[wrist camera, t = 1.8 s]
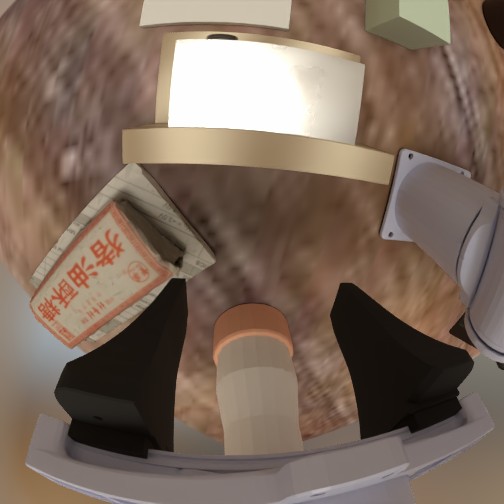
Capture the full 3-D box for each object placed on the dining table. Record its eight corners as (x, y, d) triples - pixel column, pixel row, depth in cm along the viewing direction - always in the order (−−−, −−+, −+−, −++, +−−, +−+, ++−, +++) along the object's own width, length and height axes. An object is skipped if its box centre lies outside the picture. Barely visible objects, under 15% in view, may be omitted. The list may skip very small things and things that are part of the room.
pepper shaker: (198, 326, 25) (189, 531, 9) (260, 289, 24) (299, 527, 7) (243, 362, 29) (258, 531, 12) (300, 332, 27) (347, 516, 10)
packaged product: (83, 367, 22) (11, 301, 18) (96, 335, 26) (33, 274, 22) (216, 287, 18) (112, 169, 14) (218, 251, 22) (138, 155, 18)
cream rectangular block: (331, 66, 14) (365, 54, 10) (323, 135, 17) (354, 145, 12) (191, 50, 13) (177, 28, 9) (185, 122, 16) (168, 126, 11)
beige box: (353, 58, 15) (407, 43, 9) (339, 162, 19) (387, 190, 13) (167, 37, 13) (136, 4, 7) (158, 148, 17) (123, 169, 11)
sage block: (411, 9, 12) (447, -2, 8) (410, 50, 14) (450, 44, 10) (365, -11, 11) (397, -31, 7) (364, 31, 14) (399, 16, 9)
